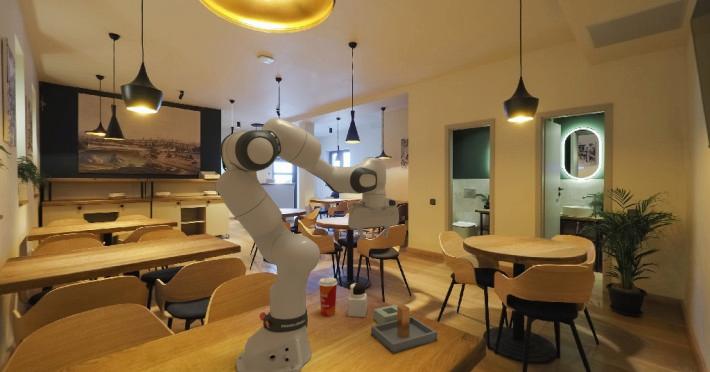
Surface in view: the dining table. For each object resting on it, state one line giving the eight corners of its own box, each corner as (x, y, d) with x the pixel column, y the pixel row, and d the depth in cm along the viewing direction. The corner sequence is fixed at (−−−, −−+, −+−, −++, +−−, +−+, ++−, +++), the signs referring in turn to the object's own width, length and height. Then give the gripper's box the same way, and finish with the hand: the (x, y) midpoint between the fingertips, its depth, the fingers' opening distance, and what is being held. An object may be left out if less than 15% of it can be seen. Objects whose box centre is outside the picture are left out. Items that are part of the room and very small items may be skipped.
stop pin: (402, 338, 110) (402, 309, 110) (397, 334, 113) (397, 306, 113) (409, 336, 112) (409, 307, 112) (404, 332, 115) (404, 304, 114)
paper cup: (316, 311, 134) (316, 278, 133) (333, 308, 137) (333, 275, 137) (322, 319, 127) (322, 284, 126) (340, 315, 130) (340, 281, 129)
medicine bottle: (366, 309, 136) (366, 281, 135) (365, 317, 129) (365, 287, 128) (349, 309, 136) (349, 281, 136) (347, 316, 129) (347, 287, 129)
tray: (393, 353, 102) (393, 344, 102) (371, 334, 115) (371, 326, 115) (437, 340, 110) (437, 332, 110) (411, 323, 123) (412, 316, 123)
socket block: (384, 327, 120) (384, 317, 119) (373, 319, 127) (373, 309, 127) (406, 322, 124) (406, 312, 124) (394, 314, 131) (394, 304, 131)
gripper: (353, 203, 112) (353, 243, 112) (401, 201, 121) (401, 237, 122) (345, 202, 117) (345, 239, 118) (391, 200, 127) (391, 235, 127)
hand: (374, 238), depth 120 cm, fingers open, 8 cm apart
